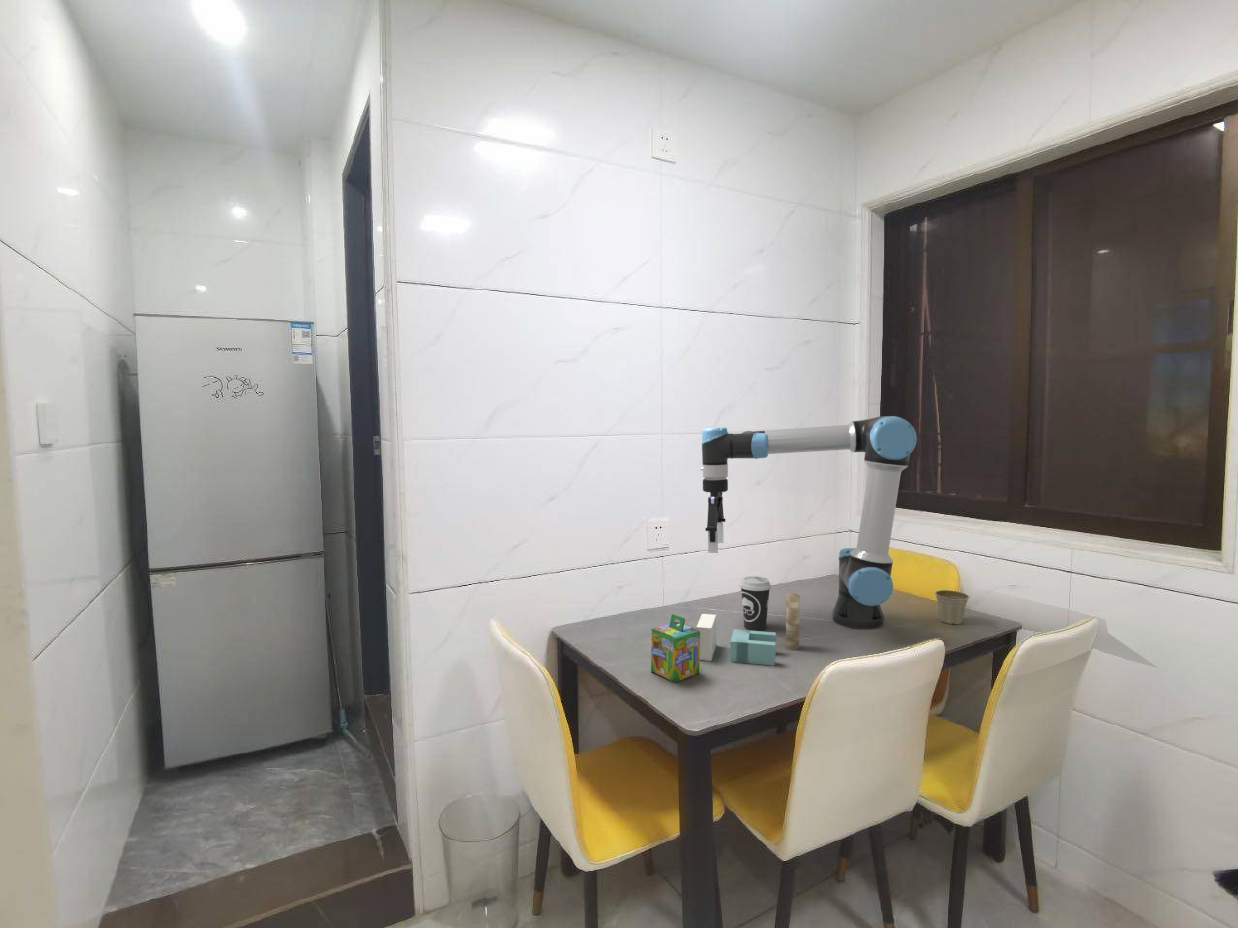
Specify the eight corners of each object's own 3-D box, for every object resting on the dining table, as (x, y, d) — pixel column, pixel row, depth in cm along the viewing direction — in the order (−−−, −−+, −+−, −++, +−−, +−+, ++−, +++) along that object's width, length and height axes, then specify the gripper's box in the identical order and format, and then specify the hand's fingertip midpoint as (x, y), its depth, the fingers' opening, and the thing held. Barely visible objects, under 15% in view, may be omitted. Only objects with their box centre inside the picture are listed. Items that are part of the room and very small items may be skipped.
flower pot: (970, 619, 191) (971, 593, 190) (966, 628, 183) (967, 600, 183) (937, 614, 197) (937, 588, 196) (931, 622, 189) (932, 595, 188)
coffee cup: (771, 633, 182) (772, 584, 181) (739, 631, 184) (739, 583, 183) (770, 622, 191) (770, 576, 190) (739, 621, 193) (739, 574, 192)
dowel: (799, 645, 172) (799, 593, 171) (799, 650, 169) (799, 597, 168) (785, 644, 173) (786, 593, 172) (785, 649, 170) (786, 596, 169)
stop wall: (716, 645, 173) (716, 614, 173) (711, 660, 163) (711, 628, 162) (702, 644, 175) (701, 613, 174) (696, 659, 164) (696, 626, 163)
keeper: (775, 651, 168) (775, 632, 168) (775, 665, 159) (775, 645, 159) (733, 648, 171) (733, 629, 171) (730, 661, 162) (730, 641, 162)
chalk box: (650, 672, 157) (649, 616, 155) (676, 662, 162) (675, 608, 161) (675, 684, 149) (674, 625, 148) (701, 673, 155) (701, 617, 154)
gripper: (708, 474, 197) (709, 538, 198) (696, 483, 173) (697, 556, 175) (732, 474, 194) (732, 539, 196) (722, 483, 171) (723, 557, 172)
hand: (716, 547), depth 185 cm, fingers open, 13 cm apart
